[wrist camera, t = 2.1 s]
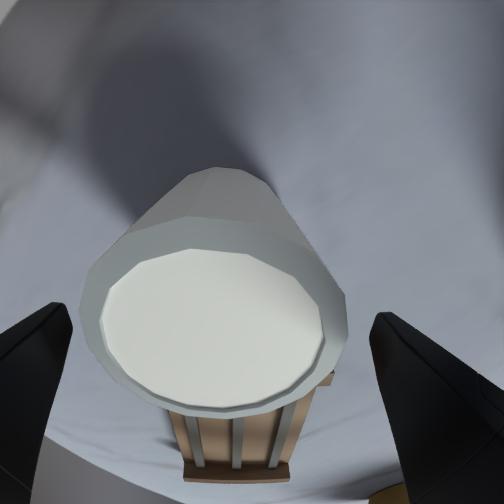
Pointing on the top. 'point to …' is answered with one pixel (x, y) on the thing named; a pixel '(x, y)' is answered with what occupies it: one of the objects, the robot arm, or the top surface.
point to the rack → (242, 444)
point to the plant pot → (391, 495)
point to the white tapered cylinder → (215, 302)
